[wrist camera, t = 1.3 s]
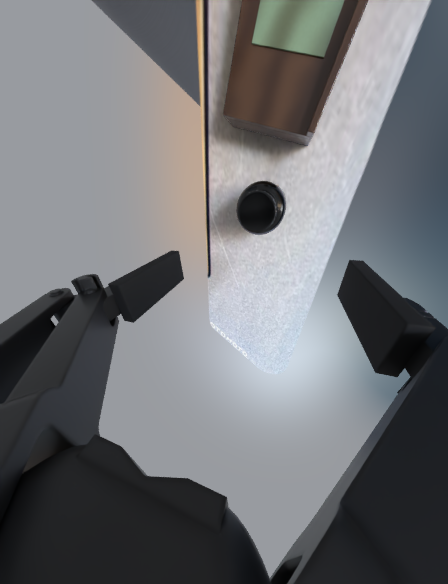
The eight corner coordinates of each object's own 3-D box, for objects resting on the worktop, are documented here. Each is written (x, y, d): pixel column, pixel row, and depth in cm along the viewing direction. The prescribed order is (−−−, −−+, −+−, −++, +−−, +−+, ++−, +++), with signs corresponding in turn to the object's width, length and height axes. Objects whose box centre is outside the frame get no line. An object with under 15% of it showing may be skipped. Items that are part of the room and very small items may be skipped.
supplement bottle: (292, 212, 30) (295, 222, 20) (257, 232, 33) (245, 250, 23) (275, 173, 28) (269, 164, 18) (240, 199, 31) (219, 203, 21)
